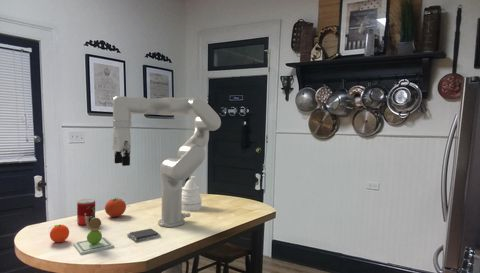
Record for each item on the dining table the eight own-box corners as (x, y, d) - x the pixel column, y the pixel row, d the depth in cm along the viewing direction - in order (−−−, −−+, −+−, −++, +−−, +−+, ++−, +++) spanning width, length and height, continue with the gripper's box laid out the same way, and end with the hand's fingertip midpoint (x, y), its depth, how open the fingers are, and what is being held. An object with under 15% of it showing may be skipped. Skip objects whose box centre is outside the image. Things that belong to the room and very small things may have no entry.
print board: (104, 238, 136) (104, 236, 136) (114, 247, 126) (114, 244, 126) (73, 244, 128) (73, 242, 128) (80, 254, 119) (80, 252, 119)
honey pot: (190, 204, 196) (190, 174, 196) (206, 207, 189) (206, 176, 188) (174, 208, 186) (174, 177, 185) (190, 212, 178) (190, 179, 178)
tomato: (100, 218, 164) (100, 198, 164) (112, 213, 174) (112, 194, 174) (118, 220, 162) (118, 200, 161) (129, 214, 172) (130, 195, 171)
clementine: (43, 245, 128) (43, 227, 127) (53, 238, 135) (53, 221, 134) (63, 245, 128) (63, 227, 127) (72, 239, 135) (72, 222, 134)
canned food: (88, 226, 151) (88, 203, 150) (73, 225, 152) (73, 202, 152) (98, 221, 158) (98, 199, 158) (84, 220, 160) (84, 198, 159)
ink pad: (151, 231, 146) (151, 227, 146) (160, 236, 139) (160, 233, 139) (127, 236, 139) (127, 232, 139) (135, 242, 132) (135, 238, 132)
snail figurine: (87, 241, 130) (87, 211, 129) (103, 241, 130) (104, 211, 130) (81, 246, 125) (81, 215, 124) (99, 246, 125) (99, 215, 125)
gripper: (107, 124, 146) (107, 162, 146) (120, 125, 132) (120, 167, 133) (124, 125, 150) (123, 161, 151) (138, 125, 137) (138, 166, 138)
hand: (122, 164), depth 142 cm, fingers open, 9 cm apart
